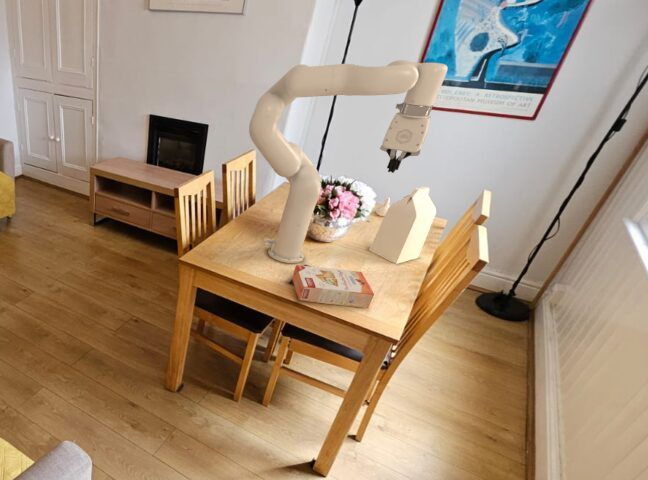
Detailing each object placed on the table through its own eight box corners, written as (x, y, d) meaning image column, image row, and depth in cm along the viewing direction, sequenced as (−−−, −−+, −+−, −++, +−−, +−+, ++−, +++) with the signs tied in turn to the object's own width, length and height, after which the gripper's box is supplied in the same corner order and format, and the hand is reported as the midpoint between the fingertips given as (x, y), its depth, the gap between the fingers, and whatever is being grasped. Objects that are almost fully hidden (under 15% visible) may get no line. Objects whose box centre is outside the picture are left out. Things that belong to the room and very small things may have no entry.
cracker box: (375, 292, 136) (303, 286, 140) (368, 309, 140) (298, 301, 143) (362, 270, 148) (295, 264, 151) (355, 285, 151) (290, 279, 154)
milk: (396, 263, 164) (426, 196, 149) (368, 250, 173) (395, 185, 158) (418, 257, 168) (450, 191, 153) (390, 244, 177) (418, 180, 162)
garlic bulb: (390, 219, 197) (397, 201, 192) (374, 215, 199) (381, 198, 195) (391, 214, 201) (398, 197, 196) (375, 211, 204) (382, 194, 199)
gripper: (384, 108, 134) (362, 169, 144) (443, 116, 126) (416, 179, 136) (389, 104, 138) (368, 163, 149) (447, 111, 131) (420, 173, 141)
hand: (391, 171), depth 142 cm, fingers closed
